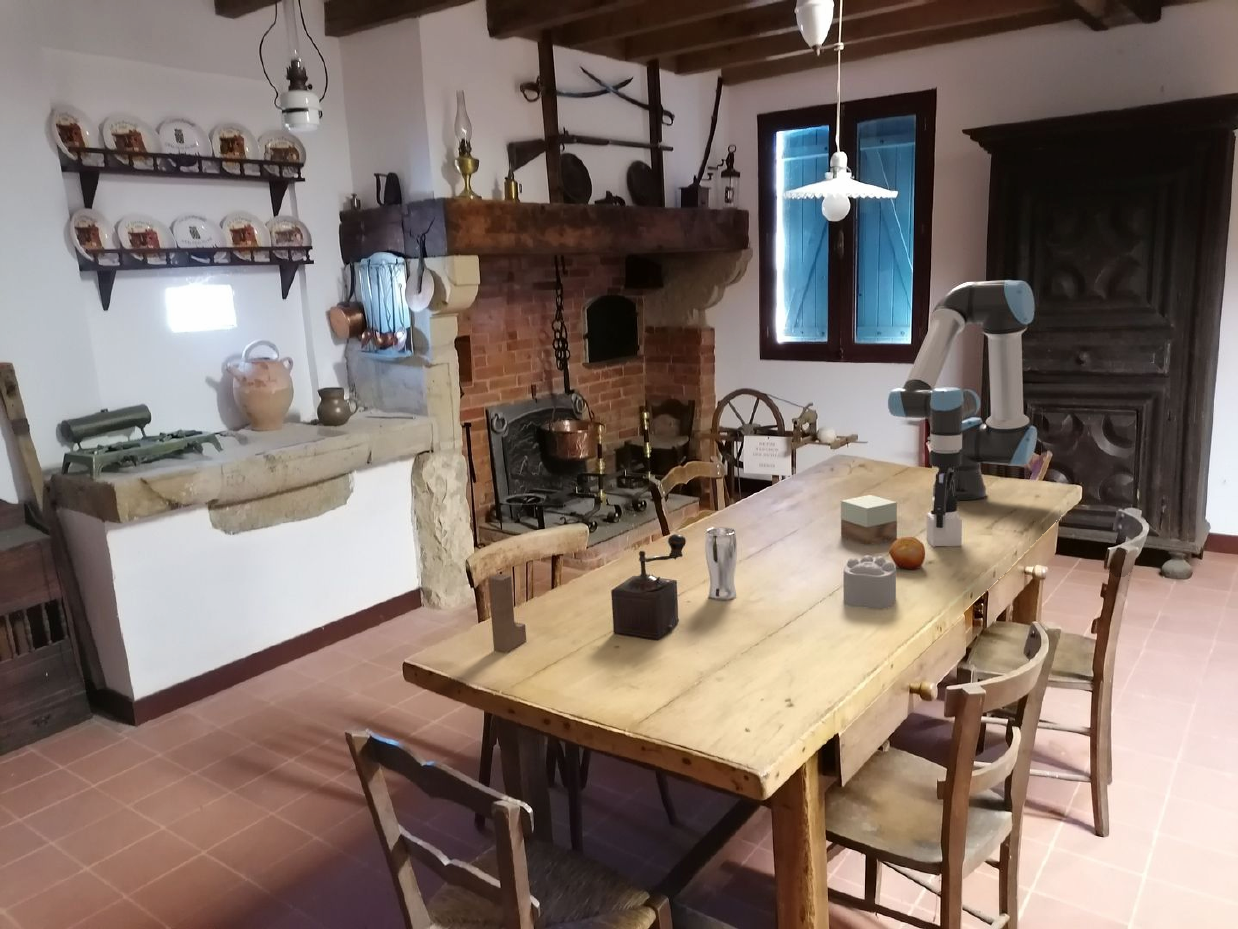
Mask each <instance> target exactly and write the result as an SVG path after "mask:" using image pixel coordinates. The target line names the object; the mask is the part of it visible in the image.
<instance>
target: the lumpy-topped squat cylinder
mask: <svg viewBox="0 0 1238 929" xmlns="http://www.w3.org/2000/svg"><path fill="white" fill-rule="evenodd" d="M842 584H843V588H842V589H843V604H844V605H846V606H848V607H854V608H866V609H870V610H871V609H872V610H885V609H884V608H886V609H889V608H891V607H892V606H893V604H895V602H896V600H895V599H897V598H896V597H897V566H896V564H895V563H894V562H892V561H890V560H888V559H886V558H885V557H884V556H881V555H878V556H877V557H875V556H874V557H873V556H872V555H869V554H866V555H864V556H862V557H861V558H855V557H851V558H849V559H848V561H847V562H846V565H845V566H844V568H843V582H842ZM894 601H895V602H894ZM888 607H889V608H888Z"/></svg>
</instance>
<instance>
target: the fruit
mask: <svg viewBox="0 0 1238 929" xmlns="http://www.w3.org/2000/svg"><path fill="white" fill-rule="evenodd" d="M888 553H889V555H890V558H891V560H892V561H893V564H894V565H895V566H896V568H898V569H904V570H911V569H912V570H918V569H920V568H921V567H922V565H923V563H924V561H925V558H926V550H925V546H924V543H923V542H921V541H920V540H919V538H916V537H914V536H907V537H906V536H905V537H904V536H903V537H901V538H896V539H895V540H894V541H893V542H892V543H891V545H890V547H889V549H888Z"/></svg>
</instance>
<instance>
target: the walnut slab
mask: <svg viewBox="0 0 1238 929" xmlns="http://www.w3.org/2000/svg"><path fill="white" fill-rule="evenodd" d="M840 537H842V538H846V539H848V540H851V541H853V540H854V542H856V541H857V542H858V543H860V544H863V545H866V546H871V545H874V544H878V543H883V542H886V541H885V540H888V541H891V540H897V539H898V520H897V521H894V522H889V523H885V524H880V525H876V526H871V527H864V526H861V525H858V524H855V523H852V522H849V521H846V520H842V519H841V518H840ZM882 541H883V542H882Z"/></svg>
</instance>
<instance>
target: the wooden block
mask: <svg viewBox="0 0 1238 929" xmlns="http://www.w3.org/2000/svg"><path fill="white" fill-rule="evenodd" d="M487 582H488V584H487V585H488V593H489V606H490V615H491V616H490V618H491V628H492V629H491V630H492V640H493V643H492V644H493V650H494V651H496V652H501V653H505V654H507V653H509V652H510V651H512V650H514V649H515V648H517V647H519V646H520V645H523V643H525V642H527V631H526V630H527V629H526V624H525V623H523V622H522V623H521V622H516V621H515V612H514V599H513V598H514V597H513V586H512V576H511V575H510V574H509V575H508V574H502V573H496V574H494V575H492V576H490V577H488V578H487Z"/></svg>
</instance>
